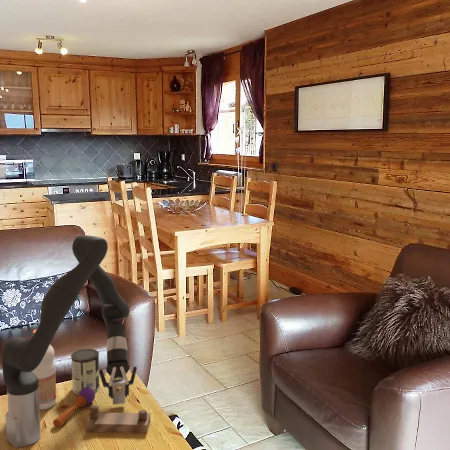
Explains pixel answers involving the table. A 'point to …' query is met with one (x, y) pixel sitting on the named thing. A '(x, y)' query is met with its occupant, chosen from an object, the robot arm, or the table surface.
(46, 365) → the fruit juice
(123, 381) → the lever cap
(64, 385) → the table surface
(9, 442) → the robot arm
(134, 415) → the plane body
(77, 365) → the coffee can
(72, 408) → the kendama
